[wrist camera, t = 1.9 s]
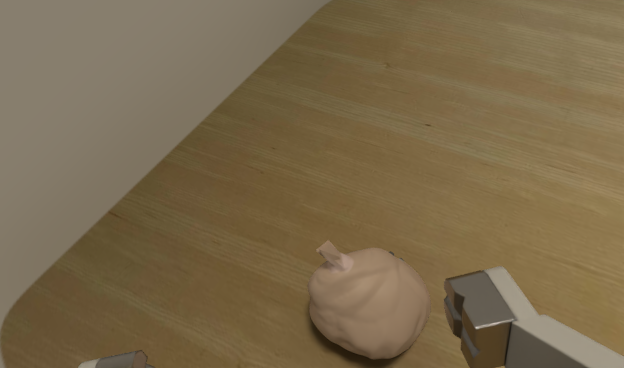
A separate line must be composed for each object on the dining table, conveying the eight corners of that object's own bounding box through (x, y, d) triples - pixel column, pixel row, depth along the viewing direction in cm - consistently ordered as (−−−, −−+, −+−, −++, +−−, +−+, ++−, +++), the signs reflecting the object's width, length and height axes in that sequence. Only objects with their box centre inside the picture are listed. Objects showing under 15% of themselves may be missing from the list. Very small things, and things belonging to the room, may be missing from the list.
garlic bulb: (375, 254, 30) (386, 192, 23) (438, 330, 27) (471, 284, 20) (296, 306, 28) (284, 256, 21) (354, 394, 25) (360, 367, 18)
